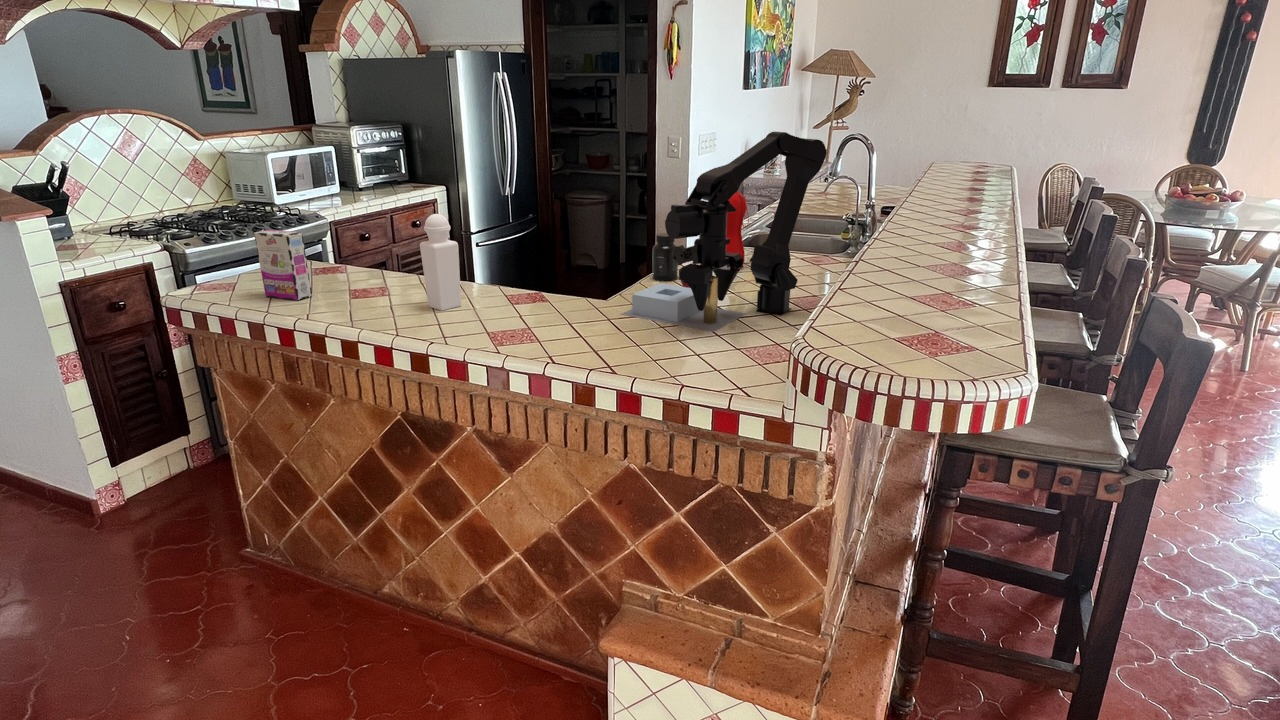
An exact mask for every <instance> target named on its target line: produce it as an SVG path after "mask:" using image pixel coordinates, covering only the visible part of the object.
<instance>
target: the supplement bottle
mask: <svg viewBox="0 0 1280 720" xmlns="http://www.w3.org/2000/svg"><path fill="white" fill-rule="evenodd" d="M655 236H656V238H655V241H656V244H654V245H653V246H652V279H653V280H655V281H657V280H659V281H658V282H673V281H676V280H677V279H678V277H679V269H678V267H679V266H678V264H677V262H675V261H674V260H673V259H672V254H673V253H672V252H673V248H674V247H677V246H678V245H677V244H675V243H674V242H675V240H676V239H671V238H670V237H669V236H668V234H667V232H666V233H664V232H663V233H657V234H656V235H655ZM653 273H654V274H653ZM672 280H673V281H672Z"/></svg>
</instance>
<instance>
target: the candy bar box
mask: <svg viewBox="0 0 1280 720" xmlns="http://www.w3.org/2000/svg"><path fill="white" fill-rule="evenodd" d="M253 235H254V240H255V245H256V250H257V256H258V261H259V266H260V267H259V268H260V272H261V278H262V282H263V283H262V285H263V289H264V295H265V297H266V296H270V297H269V298H272V297H278V298H277V299H280V298H284V299H283V300H289V299H292V300H291V301H297V300H299V301H301V300H300V299H302V300H304V299H303V298H305V299H307V298H306V297H309V296H311V295H312V296H313V292H312V286H311V280H310V273H309V266H308V261H307V255H306V248H305V243H304V236H303V232H302V231H293V230H281V229H280V230H277V229H266V230H265V229H264V230H259V231H256V232H253ZM312 296H311V297H312ZM309 298H310V297H309Z"/></svg>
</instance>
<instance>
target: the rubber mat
mask: <svg viewBox="0 0 1280 720" xmlns="http://www.w3.org/2000/svg"><path fill="white" fill-rule="evenodd" d="M620 315H621V316H627V317H632V318H637V319H643V320H648V321H652V322H653V321H654V322H657V323H663V324H669V325H674V326H678V327H679V326H680V327H684V328H690V329H696V330H701V331H704V332H705V331H706V332H711V333H714V332H716V331H718V330H720V329H723V328H724V327H726V326H727V325H729V324H731V323H733V322H734V321H736V320H738V319H740V318H741V317H743V316H745V315H747V313H746V312H740V311H733V310H729V309H722V308H717V323H714V324H707V323H704V322H703V316H704V309H703V311H699V312H697V313H695V314H693V315H691V316H689V317H686V318H684V319H682V320H680V321H678V322H675V321H670V320H665V319H659V318H654V317H649V316H643V315H638V314H633V313H632V308H631V309H628V310H627V311H625V312H622V313H620Z"/></svg>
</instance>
